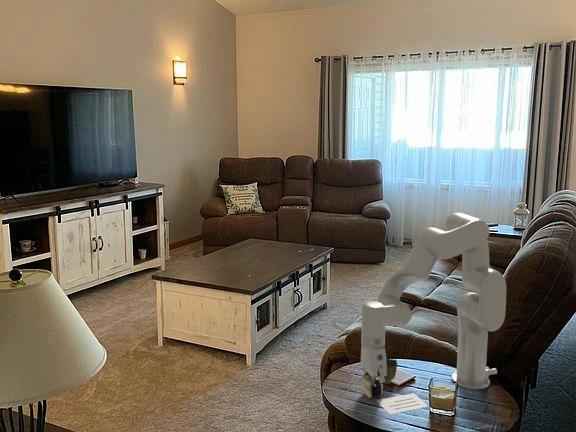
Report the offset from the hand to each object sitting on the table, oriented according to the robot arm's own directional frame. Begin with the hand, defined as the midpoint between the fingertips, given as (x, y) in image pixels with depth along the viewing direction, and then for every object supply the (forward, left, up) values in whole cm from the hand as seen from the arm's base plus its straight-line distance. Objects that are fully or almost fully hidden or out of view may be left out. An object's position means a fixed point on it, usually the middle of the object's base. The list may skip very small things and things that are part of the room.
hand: (372, 391), depth 190 cm
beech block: (0, 0, -1) cm, 1 cm away
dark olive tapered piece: (-9, -7, -2) cm, 12 cm away
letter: (-7, +7, -2) cm, 10 cm away
